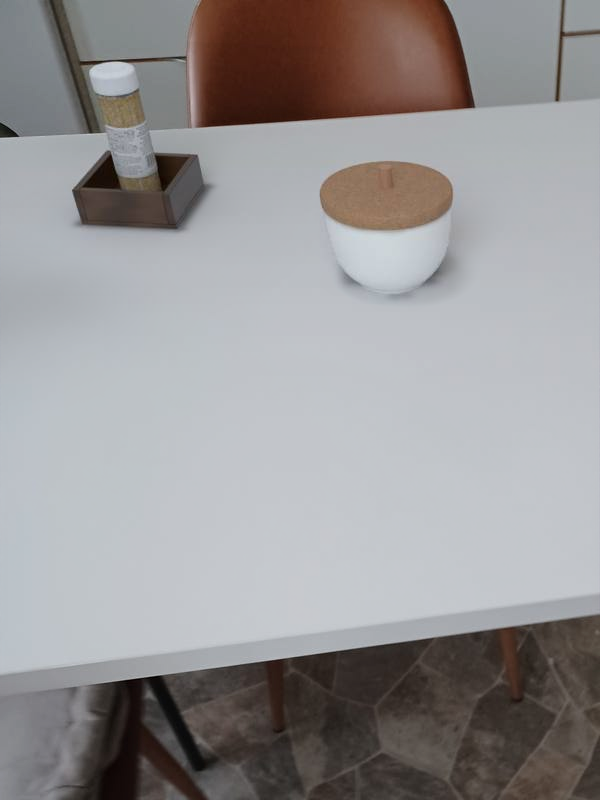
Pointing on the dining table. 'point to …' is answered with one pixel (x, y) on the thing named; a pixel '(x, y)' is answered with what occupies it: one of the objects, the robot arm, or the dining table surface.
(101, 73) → the brown spice jar
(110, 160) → the box
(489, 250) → the dining table surface
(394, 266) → the lidded bowl
